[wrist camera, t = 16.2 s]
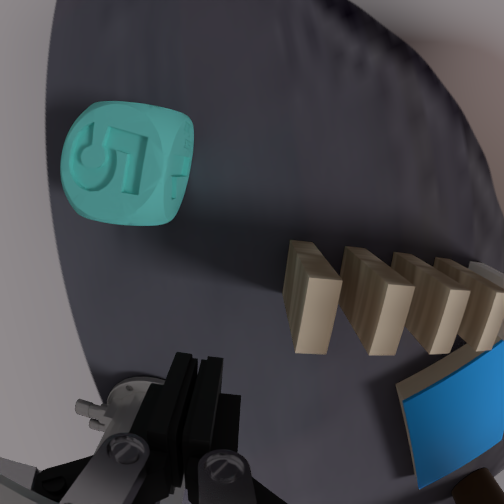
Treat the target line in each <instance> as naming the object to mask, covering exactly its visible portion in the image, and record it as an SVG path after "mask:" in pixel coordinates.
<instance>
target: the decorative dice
mask: <svg viewBox="0 0 504 504" xmlns="http://www.w3.org/2000/svg"><path fill="white" fill-rule="evenodd" d="M193 144H194V130H193V124H192V121H191V120H190V118H189V117H188V116H187V115H185V114H183V113H181V112H178V111H175V110H171V109H167V108H163V107H159V106H154V105H148V104H141V103H133V102H122V101H102V102H96V103H93V104H92V105H91V106H89V107H88V108H87V109H86V110H85V111H84V112H83V113H82V114H81V115H80V116H79V117H78V118H77V119H76V121H75V122H74V123H73V125H72V126H71V128H70V130H69V132H68V134H67V137H66V139H65V142H64V146H63V150H62V155H61V164H60V173H61V182H62V186H63V190H64V192H65V195H66V197H67V199H68V201H69V203H70V204H71V206H72V207H73V209H74V210H75V211H76V212H77V213H78V214H79V215H81V216H83V217H85V218H88V219H91V220H95V221H100V222H105V223H111V224H119V225H131V226H154V225H162V224H166V223H168V222H170V221H171V220H172V219H173V218H174V217H175V216H176V214H177V212H178V210H179V208H180V205H181V203H182V200H183V197H184V193H185V190H186V186H187V182H188V178H189V173H190V168H191V162H192V155H193Z"/></svg>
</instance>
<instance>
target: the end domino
mask: <svg viewBox="0 0 504 504" xmlns="http://www.w3.org/2000/svg"><path fill="white" fill-rule="evenodd" d="M468 269H470V270H471V271H473V272H475V273H477V274H479V275H480V276H482V277H484V278H486V279H488V280H489V281H491V282H493V283H495V284H496V285H498V286H500V287H501V288H503V289H504V274H503V273H501V272H499V271H497V270H495V269H493V268H491V267H489V266H487V265H485V264H483V263H480V262H472V261H470V263H469V267H468ZM497 335H498V336H499V337H500V338H501V339H502V340H504V318H503V321H502V324H501V326H500V329H499V332H498V334H497Z"/></svg>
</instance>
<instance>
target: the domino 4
mask: <svg viewBox="0 0 504 504" xmlns="http://www.w3.org/2000/svg"><path fill="white" fill-rule="evenodd" d="M433 267H434V268H435V269H437V270H439V271H440V272H442V273H444V274H445V275H447V276H448V277H450V278H452V279H453V280H455V281H456V282H458V283H459V284H461V285H463V286H464V287H466V288H467V289H469V290H470V291H471V292H470V295H469V299H468V302H467V305H466V308H465V312H464V315H463V318H462V321H461V324H460V326H459V329H458V332H457V334H458V335H459V336H460V337H461V338H462V339H463V340H464V341H465V342H466V343H468V344H469V345H470V346H471V347H472V348H473V349H474V350H475V351H486V350H491V349H492V347H493V345H494V342H495V340H496V337H497V334H498V332H499V329H500V326H501V324H502V321H503V318H504V289H503V288H501V287H500V286H498V285H496V284H495V283H493V282H491V281H489V280H488V279H486V278H484V277H482V276H480V275H479V274H477V273H475V272H473V271H471V270H470V269H468V268H466V267H464V266H462V265H460V264H458V263H457V262H455V261H453V260H451V259H446V258H439V257H435V261H434V265H433Z"/></svg>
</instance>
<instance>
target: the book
mask: <svg viewBox="0 0 504 504" xmlns="http://www.w3.org/2000/svg"><path fill="white" fill-rule="evenodd" d="M395 385H396V389H397V393H398V397H399V401H400V405H401V409H402V414H403V418H404V422H405V427H406V432H407V436H408V441H409V446H410V451H411V457H412V462H413V468H414V473H415V476H416V478H417V481H418V488H419V489H421V488H423V487H425V486H427V485H429V484H431V483H433V482H435V481H437V480H439V479H441V478H442V477H444V476H446V475H448V474H450V473H451V472H453V471H455V470H457V469H458V468H460V467H462V466H463V465H465V464H467V463H468V462H470V461H471V460H473V459H475V458H476V457H478V456H479V455H481V454H482V453H484V452H485V451H487V450H488V449H490V448H491V447H492V446H494V445H495V444H497V443H498V442H499V441H501V440H502V436H503V431H504V340H502V339H501V338H500V337H499V336H498V335H497V337H496V340H495V342H494V345H493V347H492V349H491V350H486V351H475V350H474V349H473V348H472V347H471V346H470V345H469V344H468V343H467V344H465V345H463V346H462V347H460V348H459V349H457V350H456V351H454V352H452V353H451V354H449V355H447V356H446V357H444V358H442V359H441V360H439V361H437V362H436V363H434V364H432V365H430V366H429V367H427V368H425V369H423V370H421V371H420V372H418V373H416V374H414V375H412V376H410V377H408V378H407V379H405V380H403V381H401V382H399V383H397V384H395Z"/></svg>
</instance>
